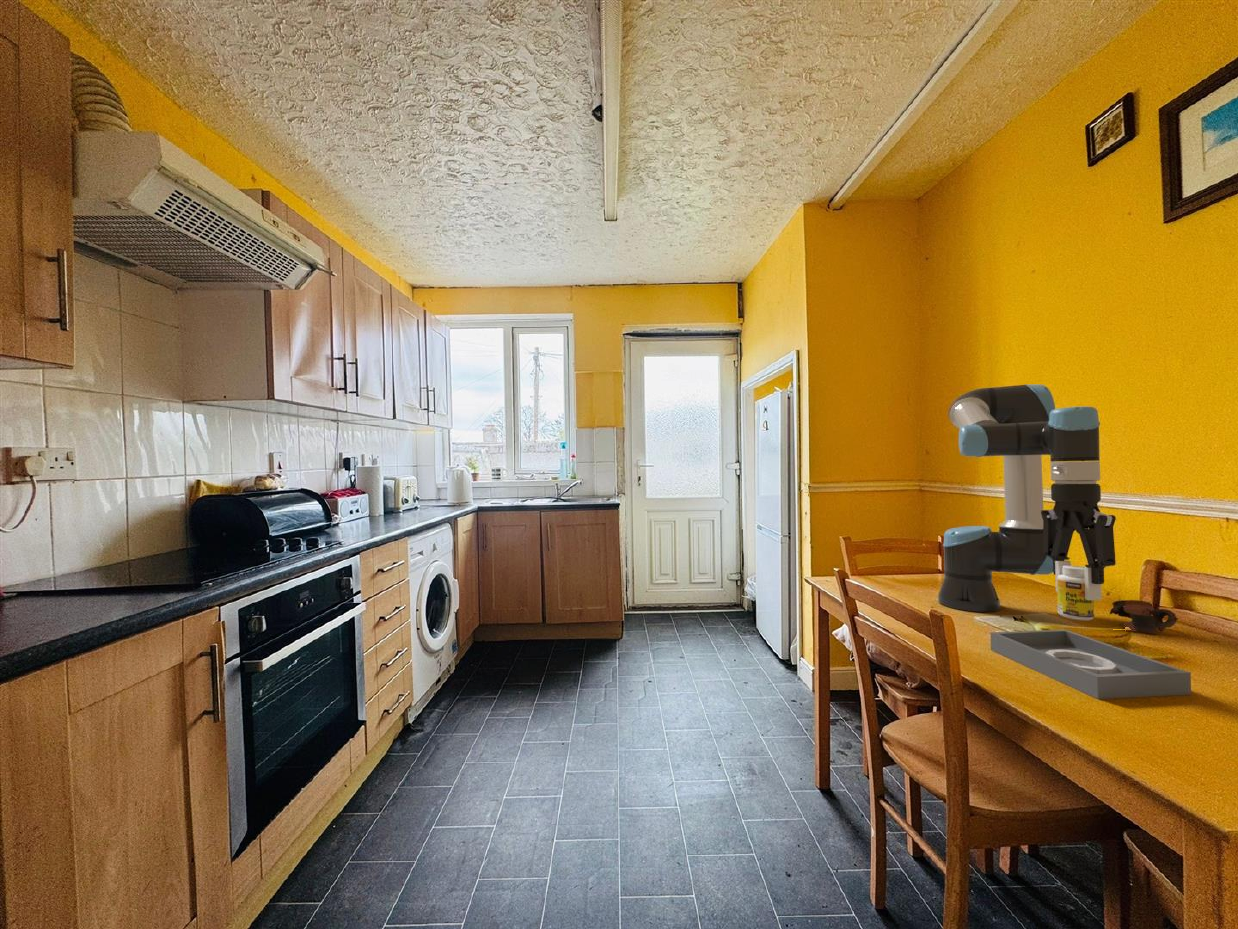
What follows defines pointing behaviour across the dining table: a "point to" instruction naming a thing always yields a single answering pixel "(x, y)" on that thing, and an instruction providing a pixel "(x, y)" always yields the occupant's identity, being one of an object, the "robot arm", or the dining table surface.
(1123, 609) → the pottery mug
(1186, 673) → the grey tray
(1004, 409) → the robot arm
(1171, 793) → the dining table surface
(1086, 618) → the supplement bottle
